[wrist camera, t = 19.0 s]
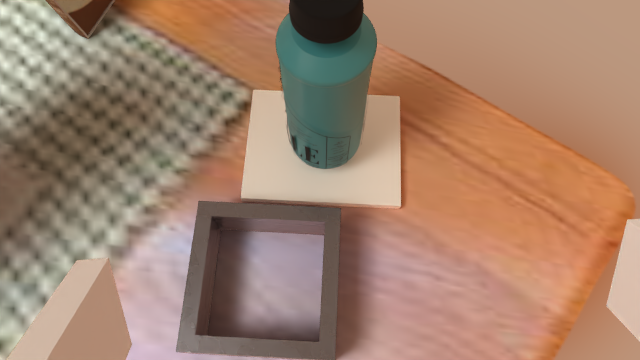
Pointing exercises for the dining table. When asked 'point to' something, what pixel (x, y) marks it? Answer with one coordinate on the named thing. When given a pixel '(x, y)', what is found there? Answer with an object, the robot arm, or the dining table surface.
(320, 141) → the beverage bottle
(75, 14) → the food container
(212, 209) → the bottle holder
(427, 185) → the dining table surface
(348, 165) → the coaster pad
